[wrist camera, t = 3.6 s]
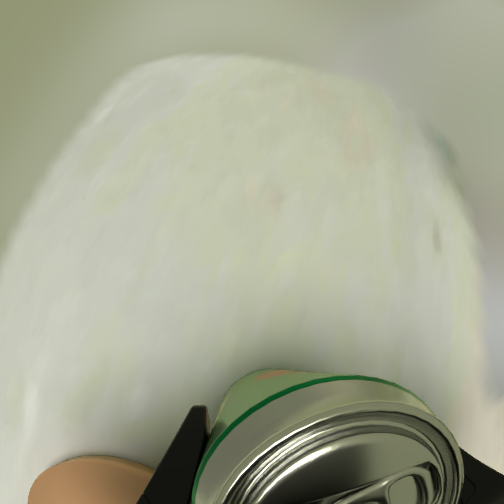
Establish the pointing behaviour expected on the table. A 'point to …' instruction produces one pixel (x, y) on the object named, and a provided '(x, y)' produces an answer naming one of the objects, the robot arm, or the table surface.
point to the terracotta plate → (91, 481)
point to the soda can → (326, 444)
